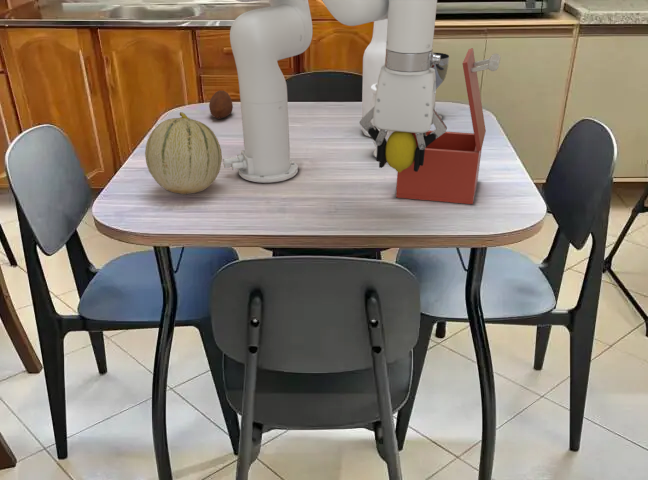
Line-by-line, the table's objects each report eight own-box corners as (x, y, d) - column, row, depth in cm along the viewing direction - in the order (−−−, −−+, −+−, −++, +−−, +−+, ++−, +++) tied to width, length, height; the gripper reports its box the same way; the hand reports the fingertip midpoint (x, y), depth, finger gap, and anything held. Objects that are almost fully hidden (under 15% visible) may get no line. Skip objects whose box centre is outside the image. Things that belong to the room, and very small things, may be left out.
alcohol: (395, 139, 162) (402, -1, 145) (359, 137, 163) (361, -1, 146) (398, 128, 169) (405, -7, 152) (363, 126, 170) (366, -7, 153)
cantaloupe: (155, 210, 130) (142, 131, 121) (148, 183, 141) (136, 109, 133) (231, 200, 133) (223, 123, 124) (218, 174, 145) (211, 102, 136)
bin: (396, 197, 133) (398, 147, 127) (405, 176, 142) (408, 128, 136) (472, 204, 129) (478, 153, 124) (477, 182, 139) (483, 133, 133)
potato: (206, 123, 175) (204, 97, 172) (213, 110, 185) (211, 85, 181) (230, 122, 175) (227, 97, 171) (235, 110, 185) (233, 85, 181)
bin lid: (462, 63, 116) (495, 55, 114) (468, 49, 125) (499, 41, 123) (476, 151, 124) (508, 145, 121) (481, 132, 133) (511, 126, 131)
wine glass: (448, 115, 177) (454, 54, 168) (436, 123, 172) (441, 60, 163) (420, 111, 181) (425, 51, 172) (407, 119, 175) (411, 57, 167)
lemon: (379, 168, 124) (381, 124, 119) (407, 165, 125) (410, 121, 120) (390, 179, 119) (394, 134, 115) (419, 176, 121) (423, 131, 116)
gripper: (463, 59, 112) (449, 164, 123) (361, 51, 116) (357, 155, 126) (458, 70, 106) (444, 180, 117) (351, 62, 110) (348, 169, 121)
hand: (399, 166), depth 122 cm, fingers closed on lemon, 5 cm apart
